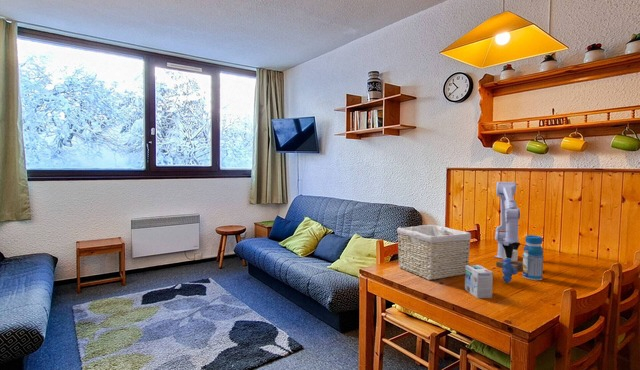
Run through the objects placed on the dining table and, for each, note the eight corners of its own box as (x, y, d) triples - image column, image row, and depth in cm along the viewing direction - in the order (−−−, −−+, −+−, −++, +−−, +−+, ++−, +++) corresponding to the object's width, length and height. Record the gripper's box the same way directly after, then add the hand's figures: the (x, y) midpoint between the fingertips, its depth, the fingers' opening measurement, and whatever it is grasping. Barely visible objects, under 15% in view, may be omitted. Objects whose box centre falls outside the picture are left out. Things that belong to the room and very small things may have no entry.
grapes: (515, 288, 154) (516, 261, 153) (498, 285, 158) (499, 259, 157) (519, 281, 163) (520, 256, 163) (503, 278, 167) (504, 253, 167)
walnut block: (506, 264, 193) (506, 258, 193) (525, 268, 185) (525, 263, 185) (496, 267, 187) (496, 261, 187) (515, 272, 179) (515, 266, 179)
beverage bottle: (535, 281, 163) (537, 239, 162) (518, 276, 170) (519, 235, 169) (546, 279, 167) (548, 237, 166) (529, 274, 174) (530, 234, 173)
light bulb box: (464, 289, 154) (464, 264, 153) (479, 288, 154) (479, 264, 154) (477, 298, 143) (477, 272, 143) (493, 298, 144) (493, 272, 143)
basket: (433, 261, 198) (434, 222, 197) (472, 274, 174) (474, 231, 173) (394, 267, 187) (395, 226, 185) (430, 282, 162) (431, 236, 161)
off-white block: (507, 257, 189) (507, 248, 189) (517, 259, 186) (517, 250, 185) (503, 259, 186) (503, 250, 186) (513, 261, 182) (514, 251, 182)
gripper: (509, 228, 193) (508, 253, 193) (498, 232, 183) (497, 257, 184) (523, 230, 187) (522, 255, 188) (512, 234, 178) (511, 260, 179)
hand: (511, 256), depth 186 cm, fingers closed on off-white block, 5 cm apart
